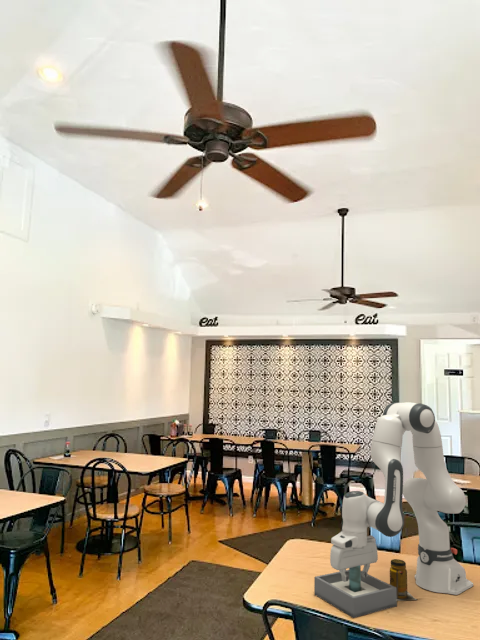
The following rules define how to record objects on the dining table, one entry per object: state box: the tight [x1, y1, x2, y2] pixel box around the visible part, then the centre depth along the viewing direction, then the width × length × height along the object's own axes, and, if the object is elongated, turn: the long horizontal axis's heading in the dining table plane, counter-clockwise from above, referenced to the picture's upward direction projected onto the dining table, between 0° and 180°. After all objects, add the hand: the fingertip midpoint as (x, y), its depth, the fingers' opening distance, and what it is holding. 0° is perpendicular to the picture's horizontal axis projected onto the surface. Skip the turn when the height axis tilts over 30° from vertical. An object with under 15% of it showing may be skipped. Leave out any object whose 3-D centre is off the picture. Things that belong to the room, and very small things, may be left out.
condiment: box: [389, 558, 418, 602], centre depth 171 cm, size 7×8×12 cm
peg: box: [348, 566, 362, 592], centre depth 169 cm, size 4×4×10 cm
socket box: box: [313, 569, 398, 619], centre depth 166 cm, size 20×20×6 cm
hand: (354, 578), depth 169 cm, fingers open, 8 cm apart
